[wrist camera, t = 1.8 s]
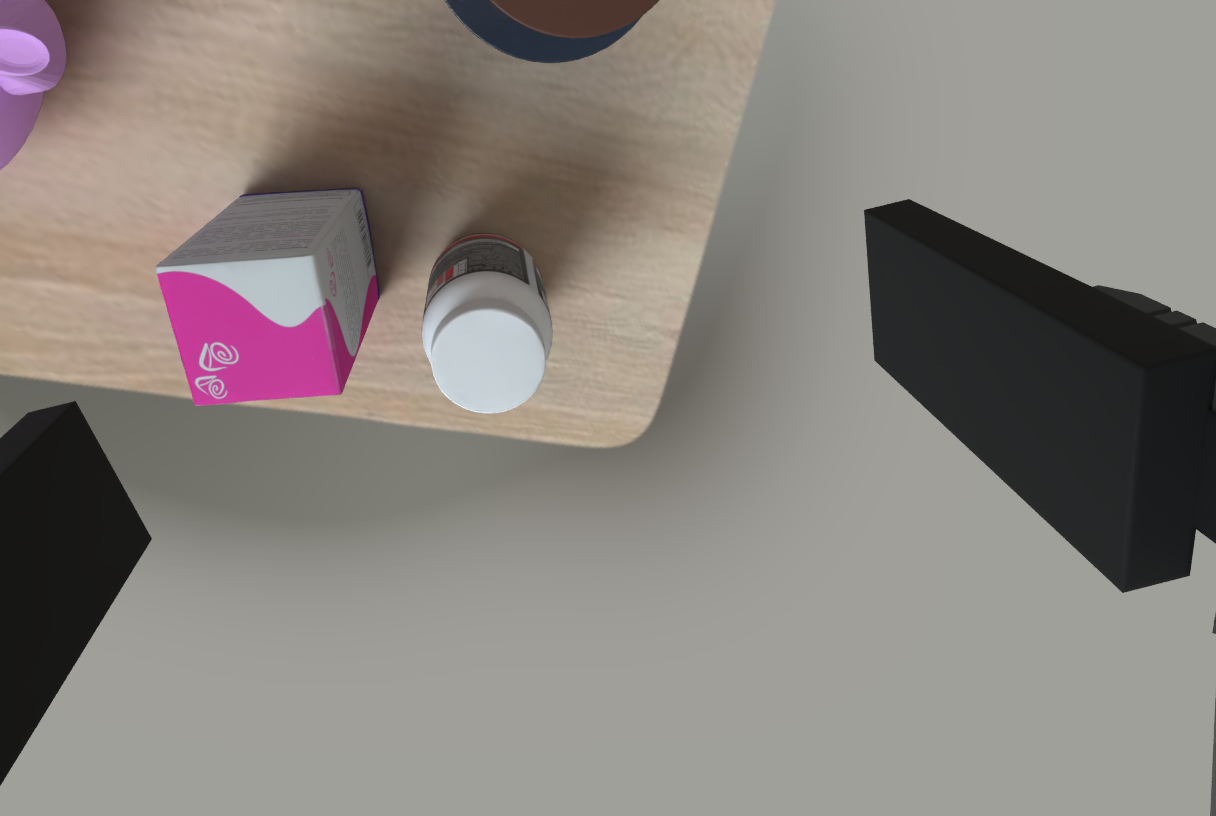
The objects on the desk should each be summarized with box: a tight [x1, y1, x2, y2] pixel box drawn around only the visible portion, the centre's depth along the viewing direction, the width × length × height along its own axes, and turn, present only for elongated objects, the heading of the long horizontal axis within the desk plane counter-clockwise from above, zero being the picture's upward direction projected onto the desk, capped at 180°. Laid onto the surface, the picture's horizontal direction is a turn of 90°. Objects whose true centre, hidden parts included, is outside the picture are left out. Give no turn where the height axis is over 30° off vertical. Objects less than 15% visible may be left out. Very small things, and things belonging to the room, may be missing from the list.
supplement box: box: [156, 188, 380, 406], centre depth 36 cm, size 6×6×12 cm
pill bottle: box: [422, 234, 552, 413], centre depth 39 cm, size 6×6×10 cm
